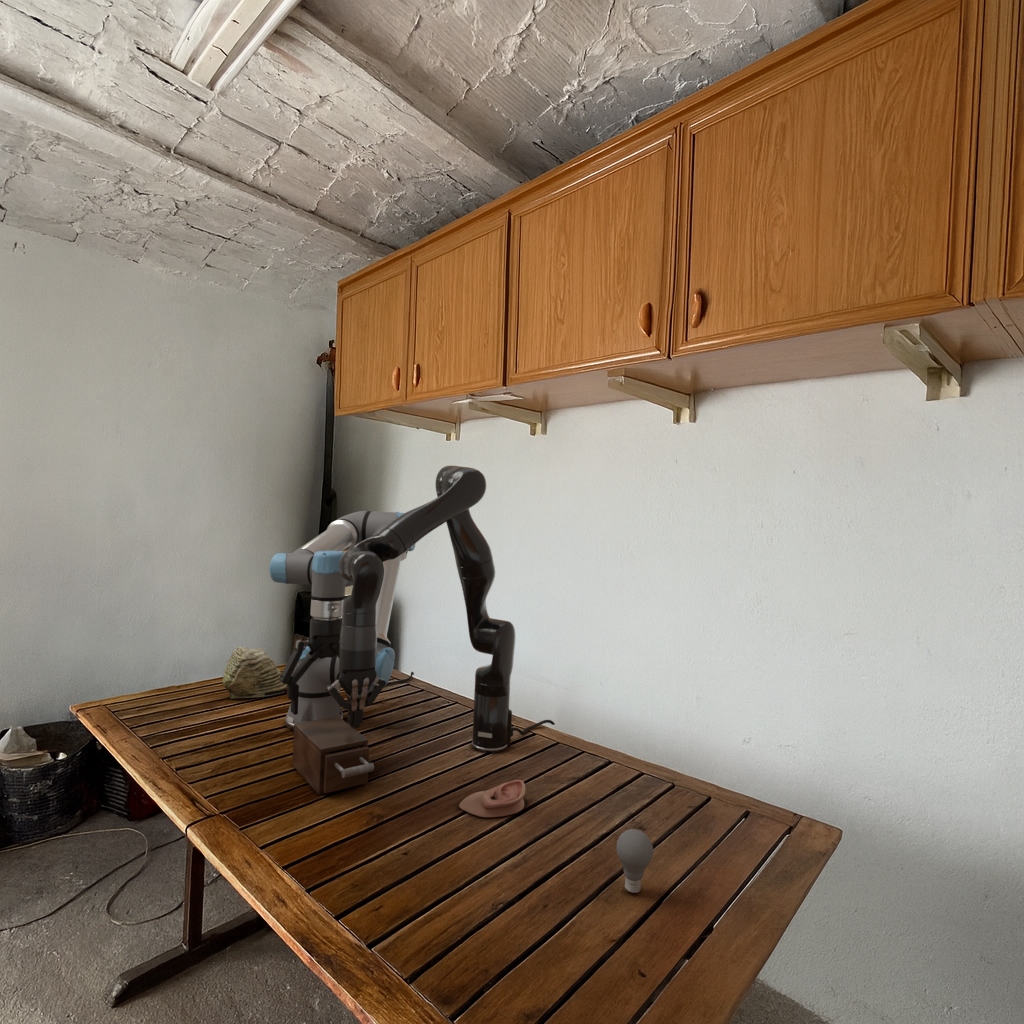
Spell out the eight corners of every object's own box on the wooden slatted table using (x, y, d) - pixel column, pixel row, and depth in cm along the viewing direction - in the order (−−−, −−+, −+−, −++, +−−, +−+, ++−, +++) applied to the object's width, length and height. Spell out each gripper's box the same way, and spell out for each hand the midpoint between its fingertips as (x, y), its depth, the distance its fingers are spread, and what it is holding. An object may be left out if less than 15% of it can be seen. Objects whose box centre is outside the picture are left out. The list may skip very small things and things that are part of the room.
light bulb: (610, 879, 108) (613, 822, 108) (644, 879, 109) (647, 822, 109) (619, 902, 102) (622, 840, 102) (655, 901, 103) (658, 840, 103)
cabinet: (366, 783, 141) (368, 739, 141) (318, 795, 134) (320, 749, 134) (336, 755, 155) (338, 715, 155) (292, 765, 149) (294, 723, 148)
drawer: (379, 794, 134) (381, 757, 134) (336, 805, 128) (337, 767, 128) (339, 757, 152) (341, 724, 152) (300, 765, 146) (301, 732, 146)
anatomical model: (455, 794, 129) (470, 770, 140) (454, 813, 129) (469, 788, 140) (519, 803, 126) (529, 778, 137) (518, 822, 126) (528, 796, 137)
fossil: (218, 695, 195) (220, 647, 195) (278, 685, 208) (279, 640, 207) (228, 703, 189) (230, 653, 188) (289, 692, 201) (290, 645, 201)
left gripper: (277, 624, 137) (273, 722, 137) (383, 616, 152) (379, 704, 152) (267, 618, 143) (263, 712, 143) (370, 611, 158) (367, 696, 158)
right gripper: (334, 652, 126) (331, 738, 126) (394, 645, 134) (391, 726, 134) (321, 644, 132) (317, 726, 132) (379, 638, 140) (376, 716, 140)
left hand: (323, 708), depth 148 cm, fingers open, 13 cm apart
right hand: (355, 726), depth 133 cm, fingers closed
